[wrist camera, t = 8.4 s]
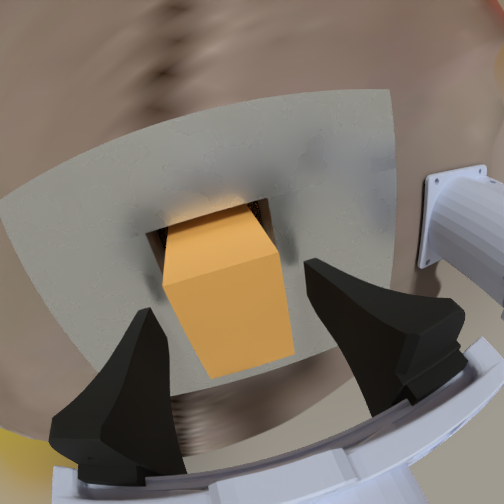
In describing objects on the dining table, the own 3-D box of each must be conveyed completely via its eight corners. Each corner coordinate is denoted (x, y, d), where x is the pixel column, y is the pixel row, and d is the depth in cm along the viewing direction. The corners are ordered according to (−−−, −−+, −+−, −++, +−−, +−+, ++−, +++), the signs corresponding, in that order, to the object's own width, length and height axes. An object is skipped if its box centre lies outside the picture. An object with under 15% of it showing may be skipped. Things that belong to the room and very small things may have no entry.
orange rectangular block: (242, 199, 14) (278, 252, 9) (261, 282, 17) (294, 353, 12) (169, 220, 14) (162, 286, 9) (199, 301, 17) (210, 379, 11)
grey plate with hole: (361, 90, 12) (389, 89, 10) (367, 306, 20) (383, 325, 18) (18, 189, 10) (-5, 203, 8) (129, 378, 18) (127, 403, 16)
